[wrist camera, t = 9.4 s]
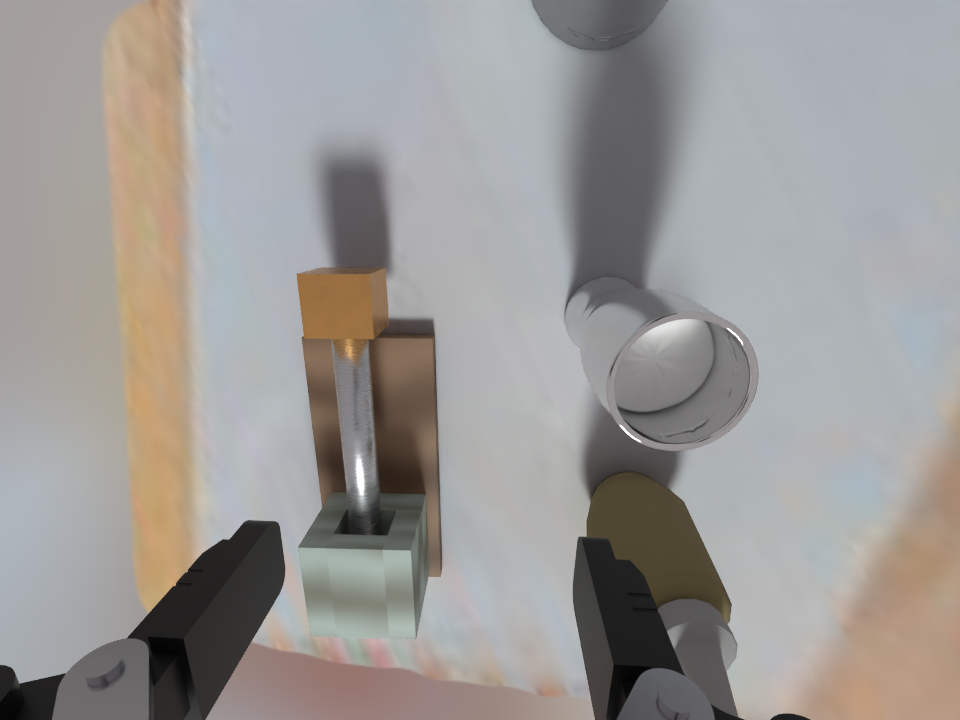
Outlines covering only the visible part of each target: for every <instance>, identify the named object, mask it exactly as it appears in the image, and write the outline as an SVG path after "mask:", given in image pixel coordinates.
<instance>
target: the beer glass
mask: <svg viewBox="0 0 960 720" xmlns="http://www.w3.org/2000/svg"><path fill="white" fill-rule="evenodd" d="M565 326H566V330H567V333H568V335H569V337H570V339H571V340H572V342H573V343H574V344H575V345H576V346H577V347H578V348H579V349H580V356H581V361H582V366H583V370H584V373H585V376H586V378H587V380H588V382H589V384H590V386H591V388H592V390H593V392H594V393H595V395H596V396H597V398H598V399H599V401H600V402H601V404H602V405H603V406H604V407H605V409H606V410H607V411H608V412H609V414H610V415H611V416H612V417H613V418H614V420H615V421H616V423H617V424H618V426H619V427H620V428H621V429H622V430H623V431H624V432H625V433H626V434H627V435H628V436H629V437H631V438H632V439H634V440H635V441H637V442H639V443H640V444H643V445H645V446H647V447H650V448H654V449H658V450H664V451H684V450H690V449H695V448H698V447H702V446H704V445H707V444H709V443H711V442H713V441H715V440H717V439H719V438H721V437H722V436H724V435H725V434H726V433H728V432H729V431H730V430H731V429H732V428H733V427H735V426H736V425H737V424H738V422H739V421H740V420H741V419H742V418H743V416H744V415H745V414H746V412H747V411H748V409H749V407H750V405H751V403H752V401H753V399H754V396H755V393H756V390H757V385H758V375H759V372H758V362H757V358H756V354H755V352H754V349H753V347H752V345H751V343H750V342H749V340H748V339H747V337H746V336H745V335H744V334H743V332H742V331H741V330H740V329H738V328H737V327H736V326H735V325H734V324H732V323H731V322H729V321H727V320H725V319H723V318H721V317H719V316H718V315H716V314H715V313H713V312H712V311H710V310H708V309H707V308H705V307H703V306H702V305H700V304H698V303H696V302H694V301H692V300H690V299H688V298H686V297H683V296H681V295H677V294H674V293H671V292H668V291H664V290H658V289H637V288H636V287H635V286H634V285H633V284H631V283H630V282H628V281H626V280H624V279H621V278H617V277H600V278H596V279H593V280H591V281H589V282H587V283H585V284H584V285H582V286H581V287H580V288H579V289H578V290H577V291H576V292H575V293H574V294H573V296H572V297H571V299H570V301H569V303H568V305H567V308H566V312H565Z"/></svg>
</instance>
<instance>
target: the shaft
mask: <svg viewBox="0 0 960 720" xmlns="http://www.w3.org/2000/svg"><path fill="white" fill-rule="evenodd" d="M297 281H298V289H299V298H300V306H301V314H302V323H303V331H304V339H331V344H332V354H333V364H334V374H335V383H336V393H337V403H338V413H339V423H340V433H341V442H342V452H343V462H344V472H345V482H346V491H347V501H348V511H349V521H350V531H351V535H383V523H382V510H381V497H380V484H379V471H378V458H377V445H376V432H375V419H374V406H373V393H372V380H371V367H370V354H369V341H368V339H375V338H376V337H377V336H378V335H379V334H380V333H381V332H382V331H383V330H384V329H385V328H386V327H388V326H389V318H388V302H387V286H386V270H385V268H318V269H314V270H310V271H306V272H302V273H298V274H297Z"/></svg>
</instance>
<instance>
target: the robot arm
mask: <svg viewBox="0 0 960 720" xmlns="http://www.w3.org/2000/svg"><path fill="white" fill-rule="evenodd" d="M667 2H668V0H532V3H533V6H534V9H535V10H536V12H537V14H538V16H539V17H540V19H541V21H542V22H543V24H544V25H545V26H546V27H547V28H548V29H549V30H550V31H551V32H552V33H553V35H555V36H556V37H558V38H559V39H561V40H562V41H564V42H565V43H567V44H569V45H572V46H575V47H577V48H580V49H588V50H601V49H609V48H613V47H615V46H618V45H621V44H623V43H626V42H628V41H629V40H631V39H632V38H634V37H635V36H637V35H638V34H640V33H641V32H642V31H643V30H644V29H645V28H646V27H647V26H648V25H649V24H650V23H651V22H652V21H653V20H654V19H655V17H656V16H657V15H658V13H659V12H660V11H661V9H662V8H663V7H664V6H665V4H666V3H667ZM284 578H285V562H284V555H283V547H282V540H281V532H280V526H279V524H278V523H277V522H275V521H254V520H248V521H246V522H244V523H243V524H242V525H241V527H240V528H239V529H238V530H237V531H236V532H235V534H234V535H233V536H232V537H231V538H230V540H224V539H223V540H221V541H220V542H218V543H217V544H215V545H214V546H212V547H211V548H209V549H208V550H207V551H205V552H204V553H202V554H201V556H200V557H199V558H198V559H197V560H196V561H195V562H194V563H193V565H192V566H191V567H190V568H189V569H188V572H187V573H185V574H184V575H183V576H182V577H181V578H180V579H179V580H178V581H177V583H176V586H173V587H172V588H171V589H170V590H169V592H168V593H167V594H166V595H165V596H164V597H163V598H162V599H161V600H160V602H159V603H158V604H157V605H156V606H155V607H154V608H153V609H152V611H151V612H150V613H149V614H148V615H147V616H146V617H145V618H144V620H143V621H142V622H141V623H140V624H139V625H138V626H137V627H136V629H135V630H134V631H133V632H132V633H131V634H130V635H129V636H128V638H127V639H121V640H117V641H114V642H111V643H108V644H106V645H103V646H101V647H100V648H97V649H96V650H94V651H92V652H90V653H89V654H87V655H86V656H84V657H83V658H82V659H80V660H79V661H78V662H77V663H76V664H75V665H74V666H73V667H72V668H71V669H70V670H69V671H68V672H67V673H66V674H61V675H56V676H52V677H48V678H43V679H39V680H34V681H30V682H25V683H21V684H19V682H18V679H17V677H16V674H15V672H14V670H13V669H12V668H10V667H8V666H4V665H0V720H205V719H206V717H207V716H208V714H209V712H210V711H211V709H212V707H213V706H214V704H215V702H216V700H217V699H218V697H219V695H220V694H221V692H222V690H223V689H224V687H225V685H226V683H227V682H228V680H229V678H230V677H231V675H232V673H233V671H234V670H235V668H236V667H237V665H238V663H239V661H240V660H241V658H242V656H243V655H244V653H245V651H246V649H247V648H248V646H249V644H250V643H251V641H252V639H253V638H254V636H255V634H256V633H257V631H258V629H259V628H260V626H261V624H262V622H263V621H264V619H265V617H266V616H267V614H268V612H269V611H270V609H271V607H272V605H273V604H274V602H275V600H276V599H277V597H278V595H279V593H280V591H281V589H282V586H283V583H284ZM573 603H574V611H575V616H576V622H577V627H578V632H579V637H580V643H581V648H582V653H583V658H584V664H585V669H586V674H587V680H588V685H589V690H590V695H591V701H592V706H593V711H594V716H595V720H744V719H741V718H738V717H736V716H733V715H730V714H728V713H726V712H724V711H722V710H720V709H718V708H716V707H715V706H713V705H712V704H710V702H709V701H708V699H707V697H706V696H705V694H704V693H703V692H702V690H701V689H700V688H699V687H698V686H697V685H696V684H695V683H693V682H692V681H691V680H690V679H688V678H687V677H686V676H685V674H684V672H683V670H682V667H681V665H680V663H679V660H678V658H677V655H676V653H675V650H674V648H673V645H672V643H671V640H670V638H669V635H668V633H667V630H666V628H665V625H664V623H663V621H662V618H661V616H660V613H658V608H657V606H656V603H655V601H654V598H653V597H652V593H651V591H650V588H649V586H648V583H647V581H646V579H645V576H644V575H643V574H642V573H641V572H640V570H639V569H638V568H637V567H636V566H635V565H634V564H633V563H632V562H631V561H630V560H619V559H616V558H615V555H614V552H613V550H612V547H611V544H610V541H609V539H608V538H600V537H579V538H578V542H577V550H576V560H575V570H574V579H573ZM771 720H810V719H808V718H805V717H803V716H800V715H795V714H779V715H776V716H774V717H773V718H772V719H771Z"/></svg>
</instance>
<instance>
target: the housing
mask: <svg viewBox="0 0 960 720" xmlns="http://www.w3.org/2000/svg"><path fill="white" fill-rule="evenodd" d="M368 341H369V354H370V367H371V380H372V393H373V406H374V419H375V432H376V445H377V458H378V471H379V484H380V497H381V510H382V523H383V535H351V531H350V521H349V511H348V501H347V491H346V482H345V472H344V462H343V452H342V442H341V433H340V423H339V413H338V403H337V393H336V383H335V374H334V364H333V354H332V344H331V339H304V337H302V344H303V352H304V360H305V368H306V377H307V385H308V393H309V401H310V410H311V418H312V426H313V434H314V443H315V451H316V459H317V467H318V476H319V484H320V492H321V500H322V509H321V511H320V513H319V514H318V516H317V518H316V519H315V521H314V522H313V524H312V526H311V527H310V529H309V531H308V532H307V534H306V535H305V537H304V539H303V540H302V542H301V543H300V545H299V547H298V552H299V559H300V566H301V572H302V579H303V586H304V593H305V600H306V607H307V614H308V621H309V628H310V635H311V636H325V637H355V638H385V639H414V640H416V637H417V631H418V626H419V621H420V616H421V611H422V606H423V601H424V596H425V591H426V586H427V581H428V577H441V571H442V546H441V515H440V484H439V453H438V422H437V391H436V359H435V335H396V334H379V335H378V336H377V337H376V338H375V339H368Z"/></svg>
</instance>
